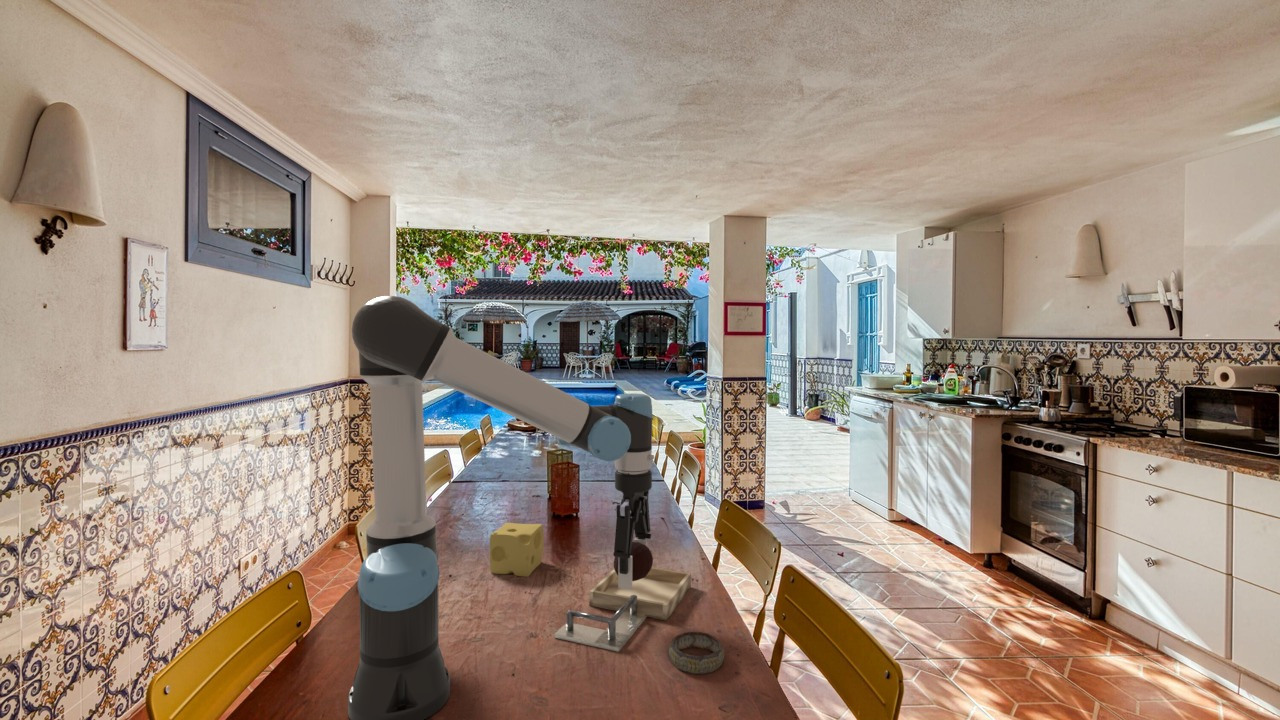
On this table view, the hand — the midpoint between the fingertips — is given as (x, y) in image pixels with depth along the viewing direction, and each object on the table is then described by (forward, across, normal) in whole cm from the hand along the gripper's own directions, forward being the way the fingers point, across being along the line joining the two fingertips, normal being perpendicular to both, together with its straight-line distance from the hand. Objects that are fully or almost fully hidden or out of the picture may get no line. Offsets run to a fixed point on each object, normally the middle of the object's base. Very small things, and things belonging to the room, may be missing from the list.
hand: (633, 578), depth 122 cm
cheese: (+9, +16, +36) cm, 41 cm away
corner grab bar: (+9, -4, +5) cm, 11 cm away
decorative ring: (+9, -10, -16) cm, 21 cm away
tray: (+9, +11, +2) cm, 14 cm away
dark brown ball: (0, 0, 0) cm, 0 cm away
